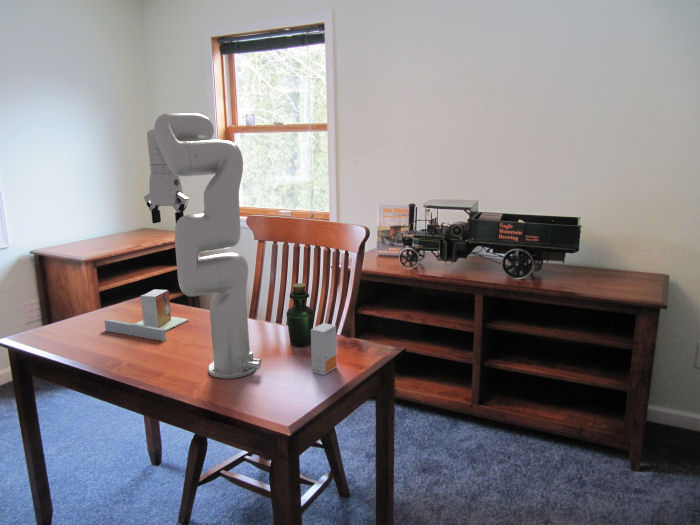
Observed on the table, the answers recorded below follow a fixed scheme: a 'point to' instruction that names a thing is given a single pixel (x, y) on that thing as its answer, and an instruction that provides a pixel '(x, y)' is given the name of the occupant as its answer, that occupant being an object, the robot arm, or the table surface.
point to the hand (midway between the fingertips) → (168, 223)
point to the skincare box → (323, 348)
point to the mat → (169, 323)
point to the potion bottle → (300, 317)
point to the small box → (155, 308)
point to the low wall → (135, 329)
